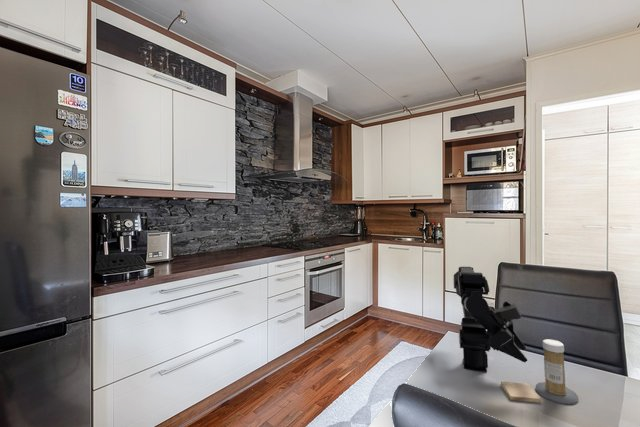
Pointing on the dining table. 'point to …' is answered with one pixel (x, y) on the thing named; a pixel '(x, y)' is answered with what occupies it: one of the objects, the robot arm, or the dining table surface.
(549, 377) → the sprinkles bottle
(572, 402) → the coaster
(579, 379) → the dining table surface
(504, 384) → the tan square cloth
